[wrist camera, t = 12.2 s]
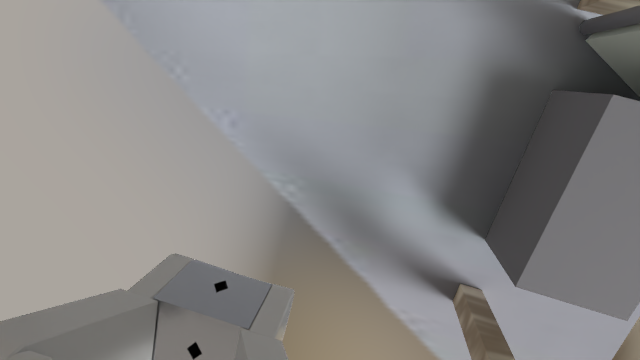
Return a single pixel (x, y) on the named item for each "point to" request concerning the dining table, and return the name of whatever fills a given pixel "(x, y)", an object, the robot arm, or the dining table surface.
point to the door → (618, 42)
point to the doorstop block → (576, 205)
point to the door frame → (470, 303)
